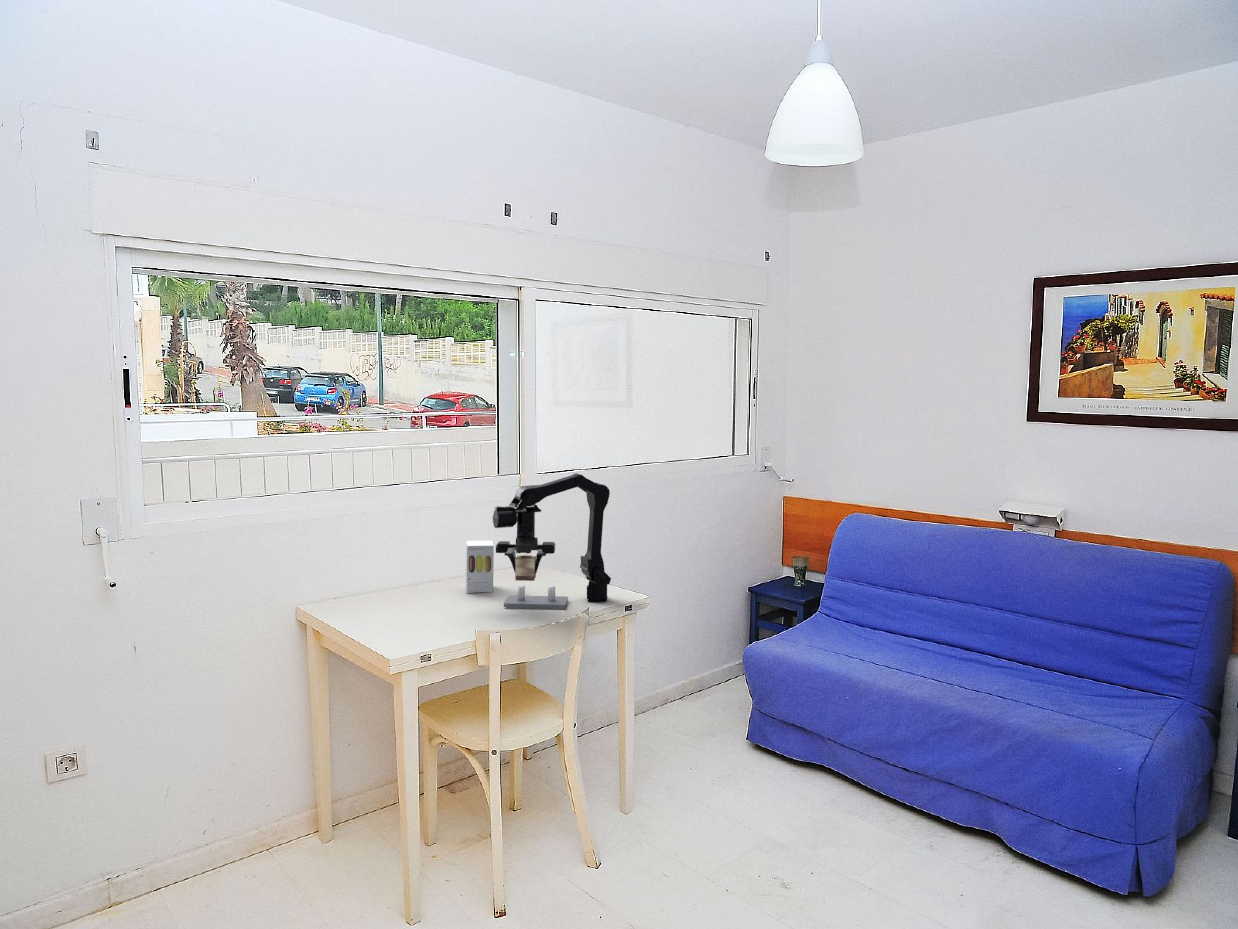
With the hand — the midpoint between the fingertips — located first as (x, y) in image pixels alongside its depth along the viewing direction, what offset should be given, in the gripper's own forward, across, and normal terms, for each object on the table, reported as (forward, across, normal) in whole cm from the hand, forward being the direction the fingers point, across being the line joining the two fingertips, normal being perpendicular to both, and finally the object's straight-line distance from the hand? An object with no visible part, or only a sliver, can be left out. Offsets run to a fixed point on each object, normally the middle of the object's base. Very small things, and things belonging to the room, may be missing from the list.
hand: (525, 573), depth 262 cm
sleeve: (+2, 0, 0) cm, 2 cm away
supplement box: (+12, -18, +22) cm, 31 cm away
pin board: (+11, +3, +4) cm, 13 cm away
